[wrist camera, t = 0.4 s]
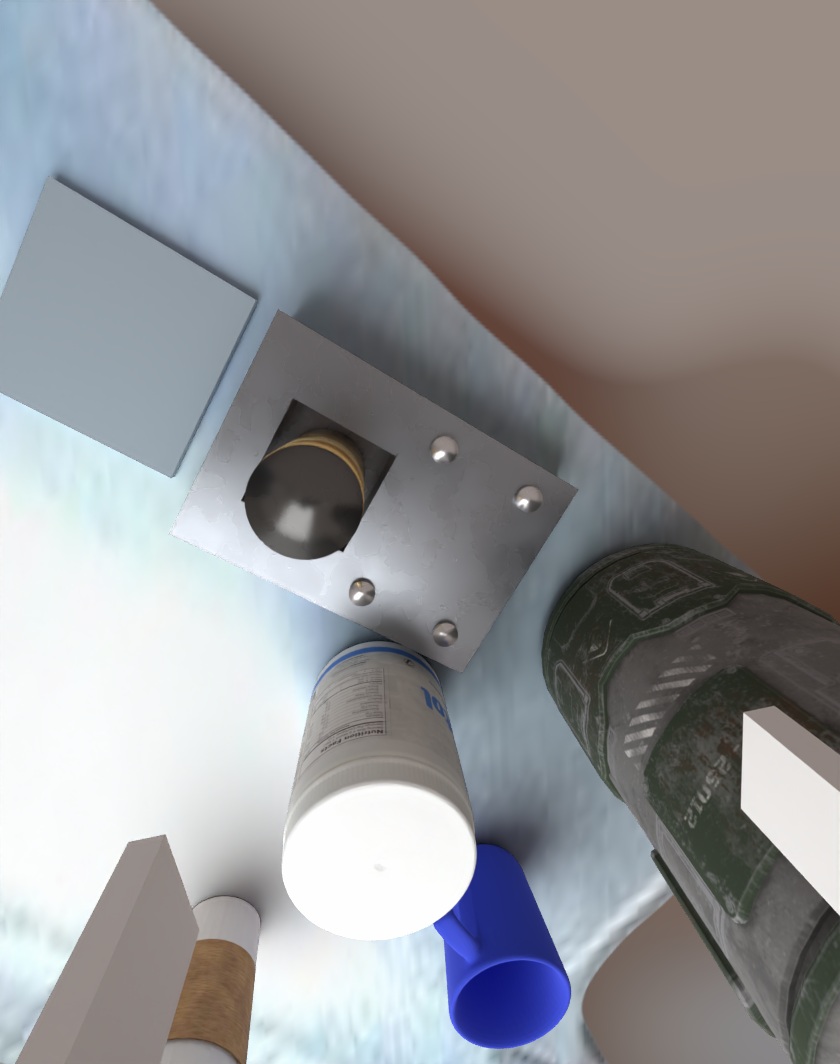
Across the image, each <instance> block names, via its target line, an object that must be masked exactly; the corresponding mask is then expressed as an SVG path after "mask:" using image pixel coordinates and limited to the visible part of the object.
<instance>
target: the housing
mask: <svg viewBox="0 0 840 1064" xmlns="http://www.w3.org/2000/svg"><path fill="white" fill-rule="evenodd" d="M317 429H327V430H332V431H336V432H338V433H340V434H343V435H344V436H346V437H347V438H348V439H350V440H351V441H352V442H353V443H354V444H355V445H356V447H357V448H358V450H359V452H360V454H361V456H362V459H363V463H364V510H363V516H362V519H361V522H360V524H359V526H358V529H357V531H356V532H355V534H354V535H353V537H352V538H351V539H350V541H349V542H348V543H347V544H346V545H345V546H343V547H342V548H341V549H340V550H338V551H337V552H335V553H333V554H331V555H329V556H326V557H323V558H319V559H313V560H298V559H292V558H289V557H285V556H283V555H280V554H278V553H276V552H275V551H273V550H271V549H270V548H269V547H267V546H266V545H265V544H264V543H263V542H262V541H261V540H260V539H259V538H258V537H257V536H256V534H255V533H254V531H253V530H252V528H251V526H250V524H249V521H248V519H247V515H246V511H245V491H246V487H247V483H248V481H249V478H250V476H251V474H252V473H253V471H254V470H255V468H256V467H257V466H258V464H259V463H260V462H261V461H262V460H263V459H264V458H265V457H266V456H267V455H269V454H270V453H272V452H273V451H275V450H277V449H278V448H280V447H282V446H283V445H285V444H287V443H288V442H290V441H292V440H293V439H295V438H297V437H299V436H300V435H302V434H304V433H306V432H309V431H312V430H317ZM577 491H578V489H576V488H575V487H573V486H571V485H570V484H568V483H566V482H565V481H563V480H561V479H560V478H558V477H557V476H555V475H553V474H552V473H550V472H548V471H547V470H545V469H543V468H542V467H540V466H538V465H537V464H535V463H533V462H532V461H530V460H528V459H527V458H525V457H523V456H522V455H520V454H518V453H517V452H515V451H513V450H512V449H510V448H508V447H507V446H505V445H503V444H502V443H500V442H498V441H497V440H495V439H493V438H492V437H490V436H488V435H487V434H485V433H483V432H482V431H480V430H478V429H477V428H475V427H473V426H472V425H470V424H468V423H467V422H465V421H463V420H462V419H460V418H458V417H457V416H455V415H453V414H452V413H450V412H448V411H447V410H445V409H443V408H442V407H440V406H438V405H437V404H435V403H433V402H432V401H430V400H428V399H427V398H425V397H423V396H422V395H420V394H418V393H417V392H415V391H413V390H412V389H410V388H408V387H407V386H405V385H403V384H402V383H400V382H398V381H397V380H395V379H393V378H392V377H390V376H388V375H387V374H385V373H383V372H382V371H380V370H378V369H377V368H375V367H373V366H372V365H370V364H368V363H367V362H365V361H363V360H362V359H360V358H358V357H357V356H355V355H353V354H352V353H350V352H348V351H347V350H345V349H343V348H342V347H340V346H338V345H337V344H335V343H333V342H332V341H330V340H328V339H327V338H325V337H323V336H322V335H320V334H318V333H317V332H315V331H313V330H312V329H310V328H308V327H307V326H305V325H303V324H302V323H300V322H298V321H297V320H295V319H293V318H292V317H290V316H288V315H287V314H285V313H283V312H282V311H280V310H278V311H277V313H276V315H275V317H274V319H273V321H272V323H271V325H270V327H269V329H268V331H267V333H266V335H265V337H264V339H263V342H262V344H261V346H260V348H259V350H258V352H257V354H256V356H255V358H254V360H253V362H252V364H251V366H250V368H249V370H248V372H247V374H246V376H245V378H244V381H243V383H242V385H241V387H240V389H239V391H238V393H237V395H236V397H235V399H234V401H233V403H232V405H231V407H230V409H229V411H228V413H227V415H226V417H225V420H224V422H223V424H222V426H221V428H220V430H219V432H218V434H217V436H216V438H215V440H214V442H213V444H212V446H211V448H210V450H209V452H208V454H207V456H206V459H205V461H204V463H203V465H202V467H201V469H200V471H199V473H198V475H197V477H196V479H195V481H194V483H193V485H192V487H191V489H190V491H189V493H188V495H187V497H186V500H185V502H184V504H183V506H182V508H181V510H180V512H179V514H178V516H177V518H176V520H175V522H174V524H173V526H172V528H171V530H170V532H169V534H170V535H172V536H174V537H176V538H179V539H181V540H183V541H185V542H187V543H189V544H191V545H193V546H195V547H197V548H200V549H202V550H204V551H206V552H208V553H210V554H212V555H214V556H216V557H218V558H221V559H223V560H225V561H227V562H229V563H231V564H233V565H235V566H237V567H239V568H242V569H244V570H246V571H248V572H250V573H252V574H254V575H256V576H258V577H260V578H263V579H265V580H267V581H269V582H271V583H273V584H275V585H277V586H279V587H281V588H284V589H286V590H288V591H290V592H292V593H294V594H296V595H298V596H300V597H302V598H304V599H307V600H309V601H311V602H313V603H315V604H317V605H319V606H321V607H323V608H325V609H328V610H330V611H332V612H334V613H336V614H338V615H340V616H342V617H344V618H346V619H349V620H351V621H353V622H355V623H357V624H359V625H361V626H363V627H365V628H367V629H370V630H372V631H374V632H376V633H378V634H380V635H382V636H384V637H386V638H388V639H391V640H393V641H395V642H397V643H399V644H401V645H403V646H405V647H407V648H409V649H411V650H414V651H416V652H418V653H420V654H422V655H424V656H426V657H428V658H430V659H432V660H435V661H437V662H439V663H441V664H443V665H445V666H447V667H449V668H451V669H453V670H456V671H458V672H460V673H462V672H463V671H464V669H465V668H466V666H467V664H468V663H469V661H470V660H471V658H472V657H473V655H474V653H475V652H476V650H477V649H478V647H479V646H480V644H481V642H482V641H483V639H484V638H485V636H486V635H487V633H488V631H489V630H490V628H491V627H492V625H493V623H494V622H495V620H496V619H497V617H498V616H499V614H500V612H501V611H502V609H503V608H504V606H505V605H506V603H507V601H508V600H509V598H510V597H511V595H512V594H513V592H514V590H515V589H516V587H517V586H518V584H519V583H520V581H521V579H522V578H523V576H524V575H525V573H526V572H527V570H528V568H529V567H530V565H531V564H532V562H533V560H534V559H535V557H536V556H537V554H538V553H539V551H540V549H541V548H542V546H543V545H544V543H545V542H546V540H547V538H548V537H549V535H550V534H551V532H552V531H553V529H554V527H555V526H556V524H557V523H558V521H559V520H560V518H561V516H562V515H563V513H564V512H565V510H566V508H567V507H568V505H569V504H570V502H571V501H572V499H573V497H574V496H575V494H576V493H577Z"/></svg>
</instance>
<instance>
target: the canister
mask: <svg viewBox="0 0 840 1064" xmlns="http://www.w3.org/2000/svg"><path fill="white" fill-rule="evenodd" d="M542 667H543V676H544V679H545V682H546V686H547V689H548V691H549V693H550V694H551V696H552V698H553V700H554V701H555V703H556V705H557V707H558V709H559V711H560V713H561V714H562V716H563V718H564V719H565V721H566V723H567V724H568V726H569V727H570V729H571V731H572V732H573V734H574V735H575V737H576V739H577V740H578V742H579V744H580V745H581V747H582V748H583V750H584V752H585V753H586V755H587V756H588V758H589V760H590V761H591V763H592V765H593V766H594V768H595V769H596V771H597V773H598V774H599V776H600V777H601V779H602V780H603V781H604V783H605V784H606V785H607V786H608V788H609V789H610V790H611V791H612V793H613V794H614V795H615V796H616V797H617V798H618V799H620V800H621V801H622V802H624V803H625V804H626V805H627V806H628V808H629V809H630V811H631V812H632V814H633V815H634V817H635V819H636V820H637V822H638V823H639V825H640V826H641V828H642V829H643V831H644V833H645V834H646V836H647V837H648V839H649V840H650V842H651V844H652V845H653V847H654V848H655V849H654V850H653V851H651V857H652V859H653V861H654V863H655V864H656V866H657V868H658V869H659V871H660V873H661V874H662V876H663V877H664V879H665V881H666V882H667V884H668V885H669V887H670V889H671V890H672V892H673V894H674V895H675V897H676V898H677V900H678V902H679V903H680V905H681V906H682V908H683V910H684V911H685V913H686V914H687V916H688V918H689V919H690V921H691V922H692V924H693V926H694V927H695V929H696V930H697V932H698V933H699V935H700V937H701V939H702V940H703V942H704V943H705V945H706V947H707V948H708V950H709V951H710V953H711V955H712V956H713V958H714V959H715V961H716V963H717V964H718V966H719V968H720V969H721V971H722V972H723V974H724V976H725V977H726V979H727V980H728V982H729V984H730V985H731V987H732V988H733V990H734V992H735V993H736V995H737V997H738V998H739V1000H740V1001H741V1003H742V1004H743V1006H744V1008H745V1009H746V1011H747V1013H748V1014H749V1016H750V1017H751V1019H753V1020H754V1021H755V1022H756V1023H757V1024H758V1025H759V1026H760V1027H761V1028H762V1029H763V1030H764V1031H765V1032H766V1033H768V1034H769V1035H770V1036H772V1037H775V1038H776V1039H777V1040H778V1041H779V1043H780V1045H781V1046H782V1048H783V1049H784V1051H785V1052H786V1054H787V1055H788V1057H789V1058H790V1060H791V1064H840V915H839V914H838V913H837V912H836V911H835V910H834V909H833V908H832V907H831V906H830V905H829V903H828V902H827V901H826V900H825V899H824V898H823V897H822V896H821V895H820V894H819V893H818V892H817V890H816V889H815V888H814V887H813V886H812V885H811V884H810V883H809V882H808V881H807V880H806V879H805V877H804V876H803V875H802V874H801V873H800V872H799V871H798V870H797V869H796V868H795V867H794V866H793V864H792V863H791V862H790V861H789V860H788V859H787V858H786V857H785V856H784V855H783V854H782V852H781V851H780V850H779V849H778V848H777V847H776V846H775V845H774V844H773V843H772V842H771V841H770V839H769V838H768V837H767V836H766V835H765V834H764V833H763V832H762V831H761V830H760V829H759V828H758V826H757V825H756V824H755V823H754V822H753V821H752V820H751V819H750V818H749V817H748V816H747V814H746V813H745V812H744V811H743V810H742V809H741V783H742V745H743V712H747V711H752V710H757V709H761V708H766V707H771V706H775V707H777V708H778V709H779V710H781V711H782V712H783V713H785V714H786V715H787V716H789V717H790V718H791V719H793V720H794V721H795V722H797V723H798V724H799V725H801V726H802V727H803V728H805V729H806V730H807V731H809V732H810V733H811V734H813V735H814V736H815V737H817V738H818V739H819V740H821V741H822V742H823V743H825V744H826V745H827V746H829V747H830V748H831V749H833V750H834V751H835V752H837V753H838V754H839V755H840V624H839V623H838V622H837V621H836V620H835V619H834V618H833V617H832V616H831V615H830V614H828V613H826V612H824V611H822V610H821V609H819V608H817V607H815V606H813V605H811V604H809V603H807V602H806V601H804V600H802V599H800V598H798V597H796V596H794V595H792V594H790V593H788V592H786V591H784V590H782V589H780V588H778V587H775V586H773V585H771V584H769V583H767V582H765V581H762V580H760V579H758V578H756V577H754V576H752V575H750V574H747V573H745V572H743V571H741V570H739V569H737V568H734V567H732V566H730V565H728V564H726V563H724V562H721V561H719V560H717V559H715V558H713V557H711V556H708V555H704V554H701V553H699V552H697V551H695V550H692V549H688V548H685V547H681V546H677V545H666V544H648V545H642V546H635V547H631V548H628V549H625V550H623V551H620V552H617V553H614V554H611V555H609V556H607V557H605V558H604V559H602V560H600V561H598V562H597V563H595V564H593V565H591V566H590V567H589V568H588V569H587V570H585V571H584V572H583V573H582V574H581V575H579V576H578V577H577V579H576V580H575V581H574V583H573V584H572V585H571V586H570V587H569V588H568V590H567V591H566V592H565V593H564V594H563V595H562V597H561V598H560V600H559V602H558V604H557V605H556V607H555V609H554V611H553V612H552V614H551V616H550V619H549V622H548V625H547V628H546V631H545V633H544V640H543V647H542Z"/></svg>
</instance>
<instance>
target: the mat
mask: <svg viewBox="0 0 840 1064" xmlns="http://www.w3.org/2000/svg"><path fill="white" fill-rule="evenodd" d="M257 303H258V301H257V300H255V299H254V298H252V297H250V296H249V295H247V294H245V293H244V292H242V291H240V290H239V289H237V288H235V287H234V286H232V285H230V284H229V283H227V282H225V281H224V280H222V279H220V278H219V277H217V276H215V275H214V274H212V273H210V272H209V271H207V270H205V269H204V268H202V267H200V266H199V265H197V264H195V263H194V262H192V261H190V260H189V259H187V258H185V257H184V256H182V255H180V254H179V253H177V252H175V251H174V250H172V249H170V248H168V247H167V246H165V245H163V244H162V243H160V242H158V241H157V240H155V239H153V238H152V237H150V236H148V235H147V234H145V233H143V232H142V231H140V230H138V229H137V228H135V227H133V226H132V225H130V224H128V223H127V222H125V221H123V220H122V219H120V218H118V217H117V216H115V215H113V214H112V213H110V212H108V211H107V210H105V209H103V208H102V207H100V206H98V205H97V204H95V203H93V202H92V201H90V200H88V199H87V198H85V197H83V196H82V195H80V194H78V193H77V192H75V191H73V190H72V189H70V188H68V187H67V186H65V185H63V184H62V183H60V182H58V181H57V180H55V179H53V178H52V177H50V176H48V177H47V180H46V182H45V185H44V187H43V190H42V193H41V195H40V198H39V200H38V203H37V205H36V208H35V211H34V213H33V216H32V218H31V221H30V224H29V226H28V229H27V231H26V234H25V237H24V239H23V242H22V244H21V247H20V249H19V252H18V255H17V257H16V260H15V262H14V265H13V268H12V270H11V273H10V275H9V278H8V280H7V283H6V286H5V288H4V291H3V293H2V296H1V299H0V393H2V394H4V395H6V396H8V397H10V398H12V399H14V400H16V401H18V402H20V403H22V404H24V405H26V406H28V407H30V408H32V409H34V410H36V411H38V412H40V413H42V414H44V415H46V416H48V417H50V418H52V419H54V420H56V421H58V422H60V423H62V424H64V425H66V426H68V427H70V428H72V429H74V430H76V431H78V432H80V433H82V434H84V435H86V436H88V437H90V438H92V439H94V440H96V441H98V442H100V443H102V444H104V445H106V446H108V447H110V448H112V449H114V450H116V451H118V452H120V453H122V454H124V455H126V456H128V457H130V458H132V459H134V460H136V461H138V462H140V463H142V464H144V465H146V466H148V467H150V468H152V469H154V470H156V471H158V472H160V473H162V474H164V475H166V476H168V477H170V478H172V477H174V476H175V474H176V472H177V470H178V468H179V466H180V464H181V462H182V460H183V458H184V456H185V454H186V451H187V449H188V447H189V445H190V443H191V441H192V439H193V437H194V435H195V433H196V431H197V428H198V426H199V424H200V422H201V420H202V418H203V416H204V414H205V412H206V410H207V408H208V405H209V403H210V401H211V399H212V397H213V395H214V393H215V391H216V389H217V387H218V385H219V382H220V380H221V378H222V376H223V374H224V372H225V370H226V368H227V366H228V364H229V362H230V360H231V357H232V355H233V353H234V351H235V349H236V347H237V345H238V343H239V341H240V339H241V337H242V334H243V332H244V330H245V328H246V326H247V324H248V322H249V320H250V318H251V316H252V314H253V311H254V309H255V307H256V305H257Z"/></svg>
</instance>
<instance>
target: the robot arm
mask: <svg viewBox="0 0 840 1064" xmlns="http://www.w3.org/2000/svg"><path fill="white" fill-rule="evenodd" d="M741 809H742V810H743V811H744V812H745V813H746V814H747V816H748V817H749V818H750V819H751V820H752V821H753V822H754V823H755V824H756V825H757V826H758V828H759V829H760V830H761V831H762V832H763V833H764V834H765V835H766V836H767V837H768V838H769V839H770V841H771V842H772V843H773V844H774V845H775V846H776V847H777V848H778V849H779V850H780V851H781V852H782V854H783V855H784V856H785V857H786V858H787V859H788V860H789V861H790V862H791V863H792V864H793V866H794V867H795V868H796V869H797V870H798V871H799V872H800V873H801V874H802V875H803V876H804V877H805V879H806V880H807V881H808V882H809V883H810V884H811V885H812V886H813V887H814V888H815V889H816V890H817V892H818V893H819V894H820V895H821V896H822V897H823V898H824V899H825V900H826V901H827V902H828V903H829V905H830V906H831V907H832V908H833V909H834V910H835V911H836V912H837V913H838V914H839V915H840V755H839V754H838V753H837V752H835V751H834V750H833V749H831V748H830V747H829V746H827V745H826V744H825V743H823V742H822V741H821V740H819V739H818V738H817V737H815V736H814V735H813V734H811V733H810V732H809V731H807V730H806V729H805V728H803V727H802V726H801V725H799V724H798V723H797V722H795V721H794V720H793V719H791V718H790V717H789V716H787V715H786V714H785V713H783V712H782V711H781V710H779V709H778V708H777V707H775V706H771V707H766V708H761V709H757V710H752V711H747V712H743V745H742V783H741ZM199 931H200V930H199V927H198V924H197V922H196V919H195V916H194V913H193V910H192V908H191V905H190V902H189V899H188V896H187V894H186V891H185V888H184V885H183V883H182V880H181V877H180V874H179V871H178V869H177V866H176V863H175V860H174V857H173V855H172V852H171V849H170V846H169V843H168V841H167V838H166V835H160V836H156V837H151V838H146V839H142V840H137V841H132V842H128V844H127V846H126V848H125V850H124V852H123V854H122V856H121V858H120V860H119V862H118V864H117V866H116V868H115V870H114V872H113V874H112V876H111V877H110V879H109V881H108V883H107V885H106V887H105V889H104V891H103V893H102V895H101V897H100V899H99V901H98V903H97V905H96V907H95V909H94V911H93V913H92V915H91V917H90V918H89V920H88V922H87V924H86V926H85V928H84V930H83V932H82V934H81V936H80V938H79V940H78V942H77V944H76V946H75V948H74V950H73V952H72V954H71V956H70V958H69V960H68V961H67V963H66V965H65V967H64V969H63V971H62V973H61V975H60V977H59V979H58V981H57V983H56V985H55V987H54V989H53V991H52V993H51V995H50V997H49V999H48V1001H47V1002H46V1004H45V1006H44V1008H43V1010H42V1012H41V1014H40V1016H39V1018H38V1020H37V1022H36V1024H35V1026H34V1028H33V1030H32V1032H31V1034H30V1036H29V1038H28V1040H27V1042H26V1043H25V1045H24V1047H23V1049H22V1051H21V1053H20V1055H19V1057H18V1059H17V1061H16V1063H15V1064H160V1062H161V1059H162V1056H163V1052H164V1049H165V1045H166V1042H167V1039H168V1035H169V1032H170V1029H171V1025H172V1022H173V1018H174V1015H175V1012H176V1008H177V1005H178V1002H179V998H180V995H181V991H182V988H183V985H184V981H185V978H186V974H187V971H188V968H189V964H190V961H191V958H192V954H193V951H194V947H195V944H196V941H197V937H198V934H199Z"/></svg>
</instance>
